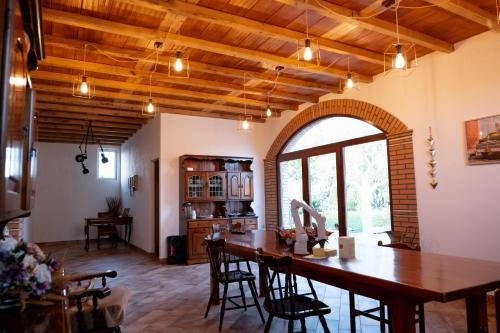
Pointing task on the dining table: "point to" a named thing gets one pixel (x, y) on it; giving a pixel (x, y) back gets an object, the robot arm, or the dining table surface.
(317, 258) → the mat
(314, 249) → the card
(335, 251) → the deck
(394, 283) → the dining table surface
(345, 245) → the supplement box
